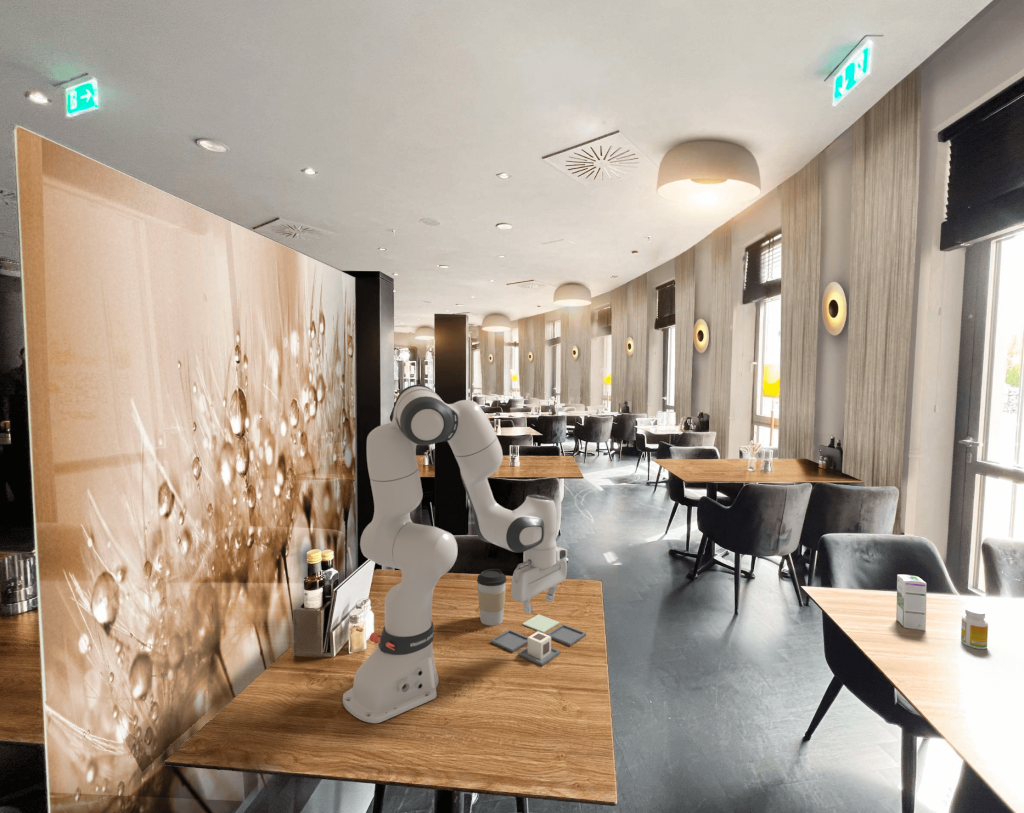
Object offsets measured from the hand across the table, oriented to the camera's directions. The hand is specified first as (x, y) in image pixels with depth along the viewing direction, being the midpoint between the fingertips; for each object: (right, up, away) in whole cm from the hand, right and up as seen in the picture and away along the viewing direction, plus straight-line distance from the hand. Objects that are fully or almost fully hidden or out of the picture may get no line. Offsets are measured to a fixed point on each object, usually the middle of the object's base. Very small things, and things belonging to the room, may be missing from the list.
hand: (539, 606), depth 133 cm
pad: (+1, -12, +18) cm, 22 cm away
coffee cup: (-14, -12, +20) cm, 27 cm away
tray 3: (+8, -13, +10) cm, 18 cm away
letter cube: (0, -13, 0) cm, 13 cm away
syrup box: (+114, -13, +18) cm, 116 cm away
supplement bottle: (+122, -14, +7) cm, 123 cm away
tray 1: (-8, -13, +7) cm, 16 cm away
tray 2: (0, -13, 0) cm, 13 cm away
